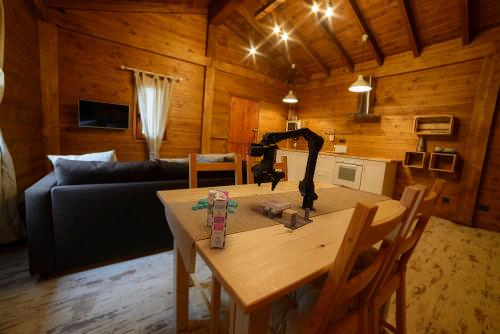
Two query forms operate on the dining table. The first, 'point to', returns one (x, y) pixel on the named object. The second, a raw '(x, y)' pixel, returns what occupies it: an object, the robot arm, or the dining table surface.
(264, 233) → the dining table surface
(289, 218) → the support block
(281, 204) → the slab
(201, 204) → the alien figure
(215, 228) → the candy bar box
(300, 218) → the roller bed
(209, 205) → the syrup box
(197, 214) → the dining table surface
